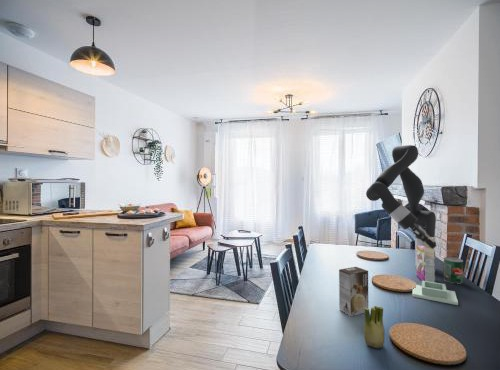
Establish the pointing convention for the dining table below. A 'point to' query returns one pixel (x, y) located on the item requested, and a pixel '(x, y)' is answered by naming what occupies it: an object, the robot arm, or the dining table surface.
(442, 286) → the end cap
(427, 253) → the ash slat
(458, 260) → the canned tomato
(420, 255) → the candy bar box
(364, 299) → the coffee box
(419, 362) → the dining table surface
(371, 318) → the fennel bulb
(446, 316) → the dining table surface
